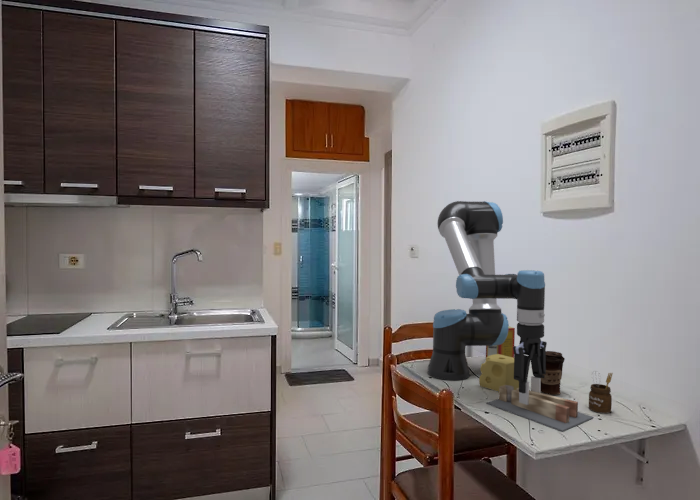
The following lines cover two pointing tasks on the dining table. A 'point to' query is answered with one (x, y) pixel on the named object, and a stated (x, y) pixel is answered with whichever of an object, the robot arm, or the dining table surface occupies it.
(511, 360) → the cheese
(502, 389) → the arm
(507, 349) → the baking soda box
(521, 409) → the mat
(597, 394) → the utensil holder
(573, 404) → the tongs swing arm
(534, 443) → the dining table surface
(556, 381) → the coffee cup
